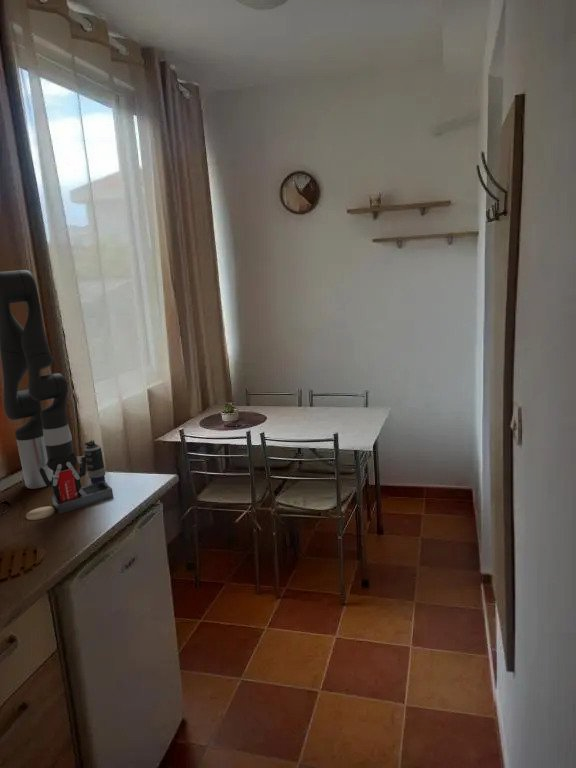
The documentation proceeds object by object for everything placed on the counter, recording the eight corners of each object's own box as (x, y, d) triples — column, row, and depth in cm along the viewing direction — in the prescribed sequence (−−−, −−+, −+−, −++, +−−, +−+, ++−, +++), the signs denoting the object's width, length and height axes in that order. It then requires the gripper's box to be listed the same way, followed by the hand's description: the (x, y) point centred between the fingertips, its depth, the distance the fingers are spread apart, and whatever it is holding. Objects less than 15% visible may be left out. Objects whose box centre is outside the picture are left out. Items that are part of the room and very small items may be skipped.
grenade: (101, 486, 180) (94, 443, 177) (82, 486, 181) (75, 443, 178) (109, 479, 185) (102, 438, 182) (91, 480, 186) (84, 438, 183)
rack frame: (53, 504, 168) (51, 495, 167) (105, 489, 176) (103, 480, 176) (59, 513, 160) (58, 504, 160) (113, 497, 169) (112, 488, 168)
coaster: (24, 514, 163) (23, 512, 163) (52, 505, 167) (51, 504, 167) (28, 522, 156) (28, 520, 156) (57, 513, 161) (57, 512, 160)
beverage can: (73, 508, 163) (66, 471, 161) (57, 509, 164) (50, 471, 162) (82, 501, 168) (75, 465, 166) (67, 501, 169) (60, 465, 167)
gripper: (79, 432, 169) (88, 483, 172) (30, 443, 161) (40, 497, 165) (86, 437, 163) (95, 489, 166) (34, 449, 155) (45, 504, 158)
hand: (67, 493), depth 165 cm, fingers closed on beverage can, 5 cm apart
